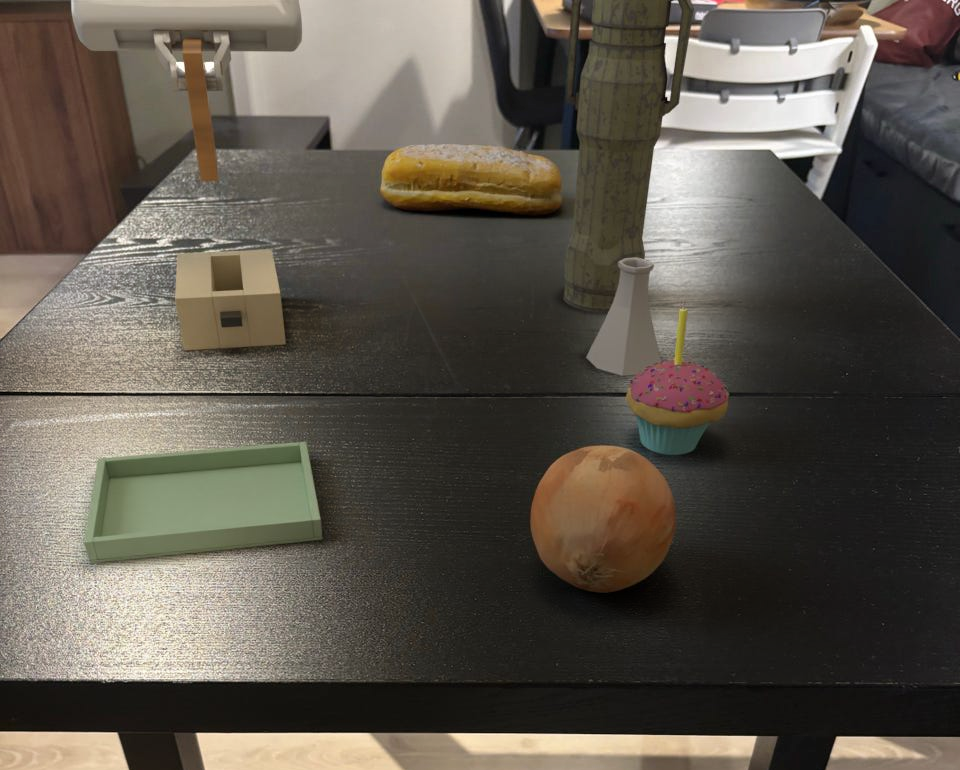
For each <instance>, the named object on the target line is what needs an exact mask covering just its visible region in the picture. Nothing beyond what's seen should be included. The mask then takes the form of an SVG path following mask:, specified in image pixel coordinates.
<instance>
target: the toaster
mask: <svg viewBox="0 0 960 770" xmlns="http://www.w3.org/2000/svg"><path fill="white" fill-rule="evenodd" d="M176 256H177V257H176V272H175V273H176V274H175V288H174V289H175V290H174V291H175V292H174V302H175V307H176V308H175V309H176V313H177V318H178V324H179V329H180V335H181V341H182V347H183V350H184V352H198V351H212V350H213V351H214V350H229V349H231V350H232V349H244V348H245V349H246V348H261V347H276V346H286V345H287V342H286V341H287V340H286V333H285V324H284V323H285V322H284V314H283V304H282V294H281V289H280V285H279V279H278V274H277V269H276V263H275V257H274V252H273V249H247V250H225V251H224V250H221V251H202V252H184V253H183V252H180V253H179V252H178V253H177V255H176Z"/></svg>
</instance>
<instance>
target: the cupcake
mask: <svg viewBox="0 0 960 770" xmlns="http://www.w3.org/2000/svg"><path fill="white" fill-rule="evenodd" d="M681 305H682V306H681V308H679V311H678V322H677V330H676V339H675V351H674V359H670V360H665V361H663V360H661V363H659V364H658V363H656V364H655V363H654V364H653V365H652V366H647V367H645V369H643V370H642V371H640V372H639V373H638V374H634V375H633V378H632V379H630V381H629V385H628V390H627V392H626V395H625V402H626V405H628V407H629V409H630V410H631V411H632V413H633V414H634V416H635V419H636V422H637V428H638V433H639V439H640V440H639V441H640V443H641V444H642V446H644V447H645V448H646V449H648V450H649V451H652V452H655V453H658V454H662V455H668V456H669V455H670V456H679V455H685V454H688V453H690V452H693V451H694V450H695V449H696V447H697V446H698V443H699V441H700V439H701V437H702V436H703V434H704V433H705V431H706V430H707V428H708V427H709V425H710V424H711V423H717V422H719V421H720V420H721V419H723V417H724V416H725V415H726V413H727V410H728V407H729V397H730V393H729V392H728V390H727V388H728V386H727V385H725V383H723V382H722V381H721V379H720V376H718V375H717V373H715V372H714V371H713V370H712V371H711V370H710V369H708V368H707V367H705V366H704V365H698V364H696V363H695V362H691V361H683V358H684V357H683V356H684V348H685V339H686V338H685V337H686V330H687V329H686V328H687V319H688V309H686V298H682V304H681Z"/></svg>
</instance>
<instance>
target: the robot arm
mask: <svg viewBox="0 0 960 770" xmlns="http://www.w3.org/2000/svg"><path fill="white" fill-rule="evenodd" d="M70 7H71V17H72V21H73V26H74V29H75V32H76V35H77V37H78V40H79V41H80V43H82V44H83V46H85V47H86V48H87V49H88V50H89V51H93V52H156V56H157V61H159V63H161V65H162V66H163V67H164V69H165V70H166V71H167V73H168V74H169V75H170V77H171V83H172V89H173V92H188V90H187V83H186V76H185V69H184V63H183V61H177V59H176V58H175V57H174V52H182V50H183V38H201V41H202V49H203V52H215V55H214V57H213V59H212V61H204V67H205V75H206V83H207V90H208V92H224V84H223V77H222V76H224V74H225V72H226V70H227V68H228V67H229V65H230V63H231V62H232V52H274V53H275V52H277V53H278V52H282V53H284V52H285V53H286V52H287V53H290V52H295V51H296V50H297V49H299V46H300V44H301V43H302V41H303V21H302V13H301V5H300V0H70Z"/></svg>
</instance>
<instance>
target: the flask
mask: <svg viewBox="0 0 960 770" xmlns="http://www.w3.org/2000/svg"><path fill="white" fill-rule="evenodd" d="M618 267H619V268H620V279H619V285H618V288H617V291H616V295H615V298H614V301H613V304H612V306H611V308H610V310H609V312H608V313H606V317H605V319H604V320H603V323H602V325H601V327H600V329H599V331H598V332H597V334H596V337H595V339H594V341H593V343H592V344H591V346H590V349H589V350H588V352H587V355H586V356H585V358H586V359H587V360H588V361H589V362H590V363H591V364H592V365H593V366H594V367H595V368H596V369H597V370H602V371H605V372H607V373H611V374H615V375H618V376H621V377H624V376H626V377H627V376H634V375H637V374H638V373H639V372H640V371H642V370H643V369H645V367H647V366H652V365H653V364H654V363H655V364H656V363H658V364H659V363H661V361H662V358H661V354H660V350H659V344H658V341H657V338H656V337H657V336H656V333H655V328H654V322H653V318H652V313H651V308H650V298H649V297H650V296H649V281H650V274H651V271H653V270H654V268H655V264H654V263H653V262H652V261H650V260H649V259H641V258H637V257H635V258H624V259H622V260H621V261H619V262H618Z"/></svg>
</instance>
